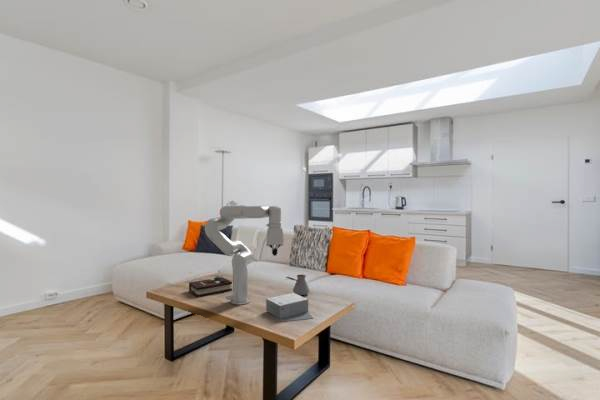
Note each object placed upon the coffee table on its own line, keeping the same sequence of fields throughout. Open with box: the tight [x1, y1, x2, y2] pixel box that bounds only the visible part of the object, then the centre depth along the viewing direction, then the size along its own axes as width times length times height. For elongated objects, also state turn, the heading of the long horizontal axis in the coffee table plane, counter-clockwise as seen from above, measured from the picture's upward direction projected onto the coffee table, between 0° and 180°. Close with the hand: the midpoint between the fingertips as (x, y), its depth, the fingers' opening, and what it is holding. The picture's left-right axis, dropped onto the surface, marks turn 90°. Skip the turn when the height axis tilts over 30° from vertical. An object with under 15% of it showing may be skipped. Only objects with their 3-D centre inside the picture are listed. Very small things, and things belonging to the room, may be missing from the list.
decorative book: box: [188, 275, 233, 298], centre depth 222 cm, size 19×8×30 cm
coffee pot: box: [285, 274, 310, 296], centre depth 212 cm, size 21×12×15 cm, turn 141°
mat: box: [274, 311, 314, 323], centre depth 178 cm, size 20×18×1 cm
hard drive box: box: [265, 292, 309, 319], centre depth 182 cm, size 16×8×20 cm
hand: (274, 255), depth 193 cm, fingers closed
